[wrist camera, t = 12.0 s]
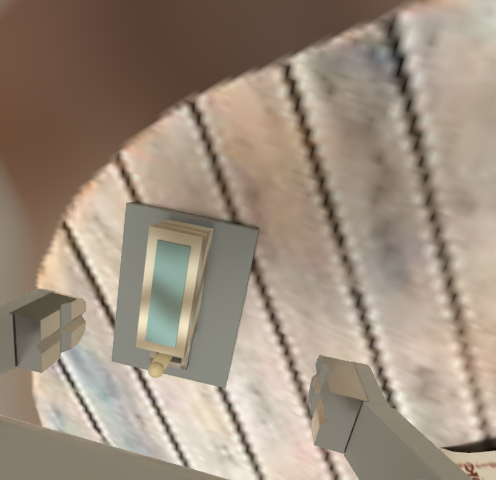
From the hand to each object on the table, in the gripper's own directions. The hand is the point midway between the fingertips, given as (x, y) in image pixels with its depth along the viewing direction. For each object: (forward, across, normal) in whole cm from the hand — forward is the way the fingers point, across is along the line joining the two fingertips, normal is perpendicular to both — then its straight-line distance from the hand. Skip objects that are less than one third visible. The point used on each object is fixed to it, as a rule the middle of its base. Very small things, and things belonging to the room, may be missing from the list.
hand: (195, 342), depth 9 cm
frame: (+22, +8, +11) cm, 26 cm away
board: (+23, +8, +12) cm, 27 cm away
